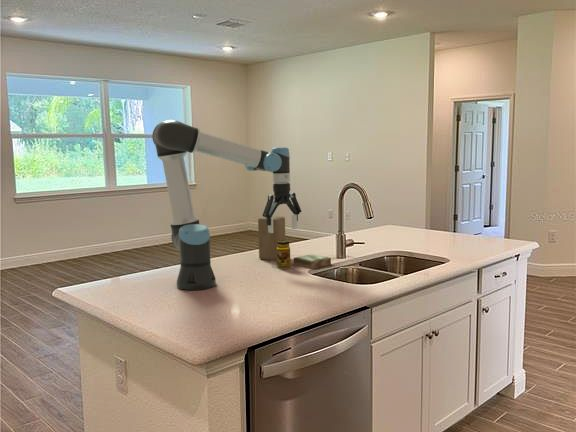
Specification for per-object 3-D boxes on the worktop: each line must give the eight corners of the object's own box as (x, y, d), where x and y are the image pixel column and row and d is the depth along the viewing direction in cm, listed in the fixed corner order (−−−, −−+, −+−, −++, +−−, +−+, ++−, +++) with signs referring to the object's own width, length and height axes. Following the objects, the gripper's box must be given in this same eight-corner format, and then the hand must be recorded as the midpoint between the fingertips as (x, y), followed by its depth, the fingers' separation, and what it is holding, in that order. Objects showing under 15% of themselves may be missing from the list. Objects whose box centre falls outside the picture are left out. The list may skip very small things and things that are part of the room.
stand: (311, 268, 226) (311, 261, 226) (293, 264, 235) (293, 257, 235) (330, 264, 234) (330, 257, 233) (313, 260, 243) (312, 253, 242)
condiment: (280, 270, 225) (279, 243, 223) (271, 266, 232) (271, 240, 230) (294, 268, 228) (294, 241, 226) (285, 264, 235) (285, 238, 234)
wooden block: (258, 259, 247) (257, 218, 244) (268, 255, 255) (267, 215, 253) (276, 261, 242) (275, 219, 239) (286, 257, 251) (285, 216, 248)
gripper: (263, 185, 214) (265, 235, 217) (308, 181, 230) (309, 228, 233) (253, 184, 220) (255, 233, 223) (297, 180, 236) (298, 226, 239)
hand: (282, 230), depth 228 cm, fingers open, 13 cm apart
